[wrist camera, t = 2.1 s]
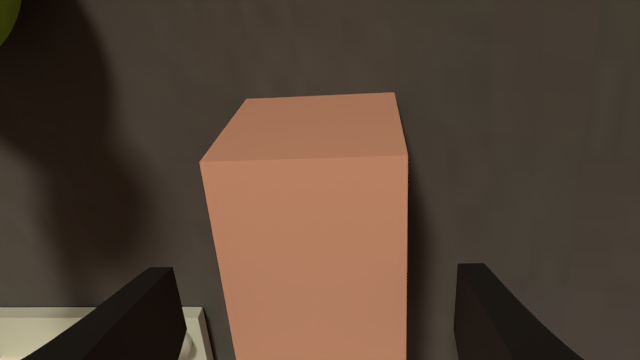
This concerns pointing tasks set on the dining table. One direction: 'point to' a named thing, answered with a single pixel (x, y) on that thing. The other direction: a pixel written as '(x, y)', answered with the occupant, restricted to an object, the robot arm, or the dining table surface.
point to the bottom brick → (11, 358)
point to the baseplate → (48, 322)
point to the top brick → (312, 227)
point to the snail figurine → (8, 17)
